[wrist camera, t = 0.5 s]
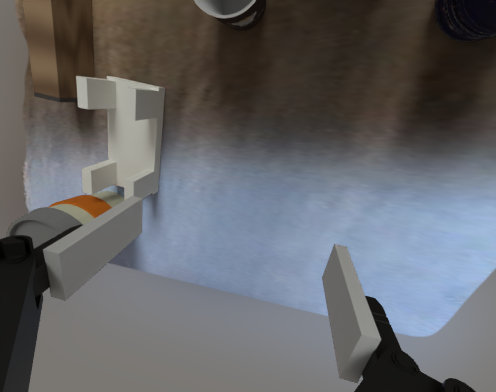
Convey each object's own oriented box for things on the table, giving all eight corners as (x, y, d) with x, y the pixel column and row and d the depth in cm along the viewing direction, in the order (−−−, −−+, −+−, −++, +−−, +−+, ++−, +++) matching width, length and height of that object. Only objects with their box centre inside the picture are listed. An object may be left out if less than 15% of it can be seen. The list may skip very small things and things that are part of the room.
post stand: (115, 77, 40) (75, 71, 33) (165, 88, 39) (136, 85, 32) (116, 180, 47) (83, 195, 40) (158, 191, 46) (133, 208, 39)
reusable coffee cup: (134, 181, 46) (67, 215, 33) (147, 240, 51) (94, 292, 37) (76, 182, 49) (-10, 214, 35) (94, 238, 53) (24, 287, 39)
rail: (66, -12, 37) (18, -37, 30) (91, -7, 36) (48, -31, 30) (73, 96, 42) (34, 96, 36) (95, 101, 42) (59, 102, 36)
